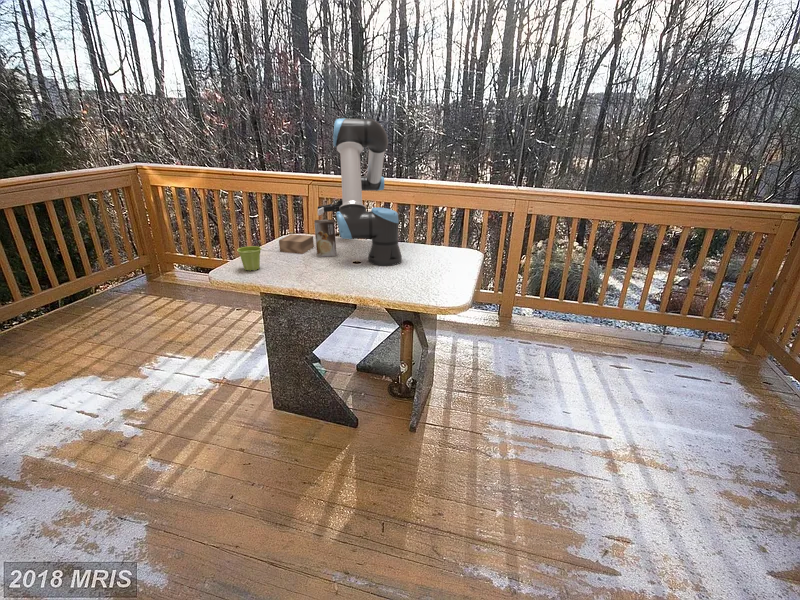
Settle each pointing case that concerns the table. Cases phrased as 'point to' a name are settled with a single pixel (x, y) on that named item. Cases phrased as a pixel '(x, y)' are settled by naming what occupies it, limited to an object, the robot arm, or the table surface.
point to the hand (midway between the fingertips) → (331, 213)
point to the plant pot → (250, 257)
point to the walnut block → (296, 244)
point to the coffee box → (325, 238)
